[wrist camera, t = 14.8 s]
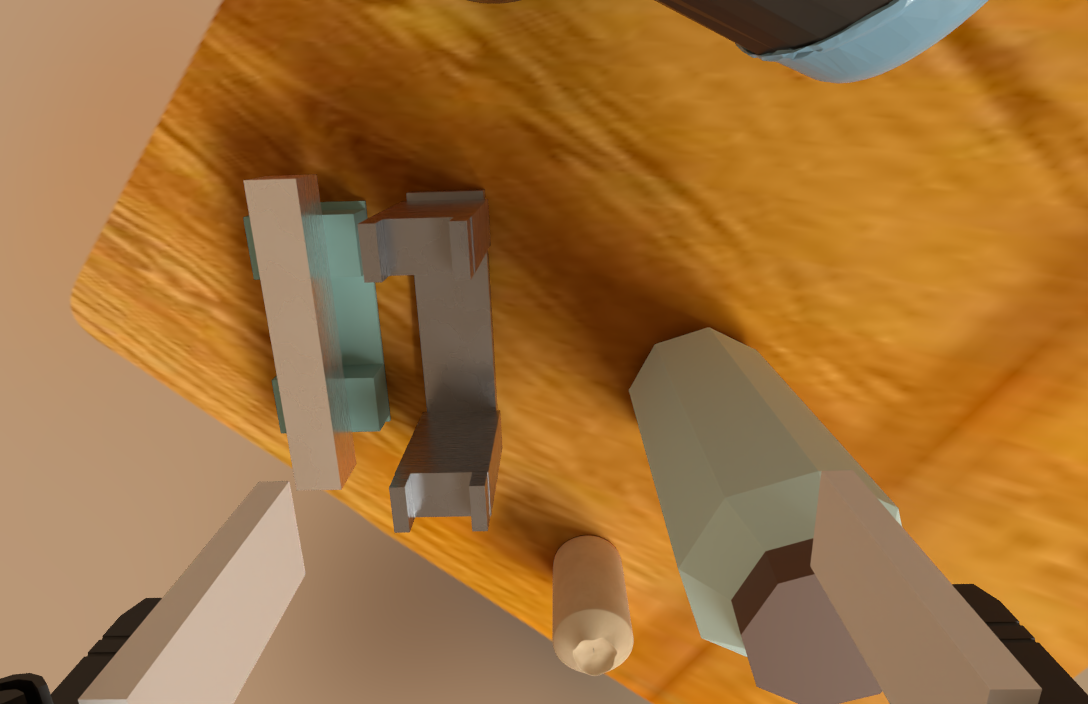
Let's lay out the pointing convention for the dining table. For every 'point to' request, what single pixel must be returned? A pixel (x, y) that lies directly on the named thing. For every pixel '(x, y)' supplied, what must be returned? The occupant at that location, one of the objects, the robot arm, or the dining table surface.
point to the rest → (349, 317)
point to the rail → (302, 327)
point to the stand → (444, 351)
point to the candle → (590, 606)
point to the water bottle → (749, 511)
